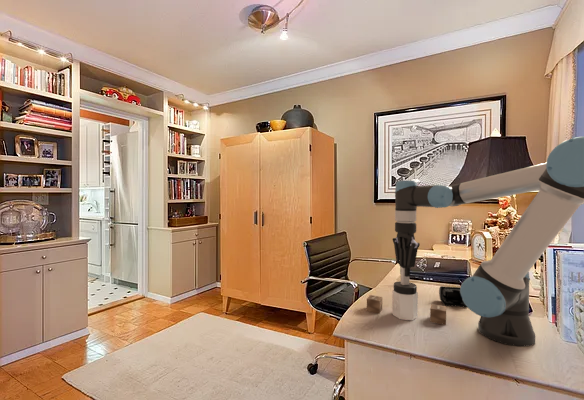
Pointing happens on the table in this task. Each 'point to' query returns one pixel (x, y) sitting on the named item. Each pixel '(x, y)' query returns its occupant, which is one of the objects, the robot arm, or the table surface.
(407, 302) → the jar
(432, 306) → the walnut block
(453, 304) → the end cap
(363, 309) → the table surface
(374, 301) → the walnut block
